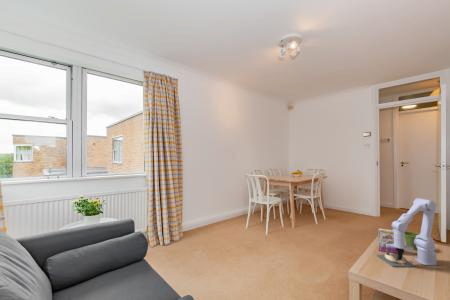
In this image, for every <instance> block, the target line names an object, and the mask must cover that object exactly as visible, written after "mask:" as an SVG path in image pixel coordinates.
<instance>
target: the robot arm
mask: <svg viewBox="0 0 450 300" xmlns="http://www.w3.org/2000/svg"><path fill="white" fill-rule="evenodd" d="M412 203H413V205H412V206H411V207H410V208H409V210H408V211H406V213H402V214H401V215H400V216H399V218H398V219H397V220H394V221H392V222H391V224H390V226H391V229H392V230H393V231H394V244H386V247H387V248H389V247H390V248H396V250H397V254H399V260H402V254H404V253H405V250H408V251H412V252H413V251H414V250H413V247H410V246H406V241H405V234H404V231H407V229H408V225H409V224H410V223H411V222H412V221H413V217H414V216H415V215H416V214H418V213H419V212H420V211H422V212H423V215H422V223H421V228H420V233H418V234H419V235H416V238H415V240H414V244H415V245H416V247H417V250H416V251H417V258H413V259H414V261H415V262H418V263H420V264H422V265H424V266H438V265H439V264H438V263H437V253H436V251H435V249H436V244H435V243H436V241H435V239H433V238H432V233H433V232H432V231H433V225H434V219H435V214H436V211H437V210H436V209H437V203H436V202H435V201H434V200H430V199H425V198H421V197H416V198H415V199H414V200H413V202H412Z"/></svg>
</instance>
